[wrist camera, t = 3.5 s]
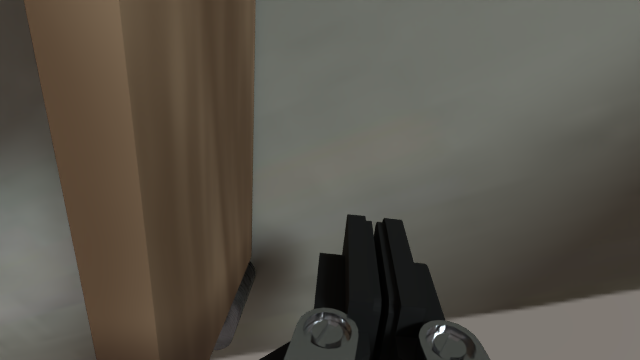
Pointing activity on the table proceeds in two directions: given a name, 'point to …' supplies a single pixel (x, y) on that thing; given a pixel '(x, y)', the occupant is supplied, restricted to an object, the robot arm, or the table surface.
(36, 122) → the table surface
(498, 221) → the table surface
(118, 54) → the door
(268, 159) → the table surface
